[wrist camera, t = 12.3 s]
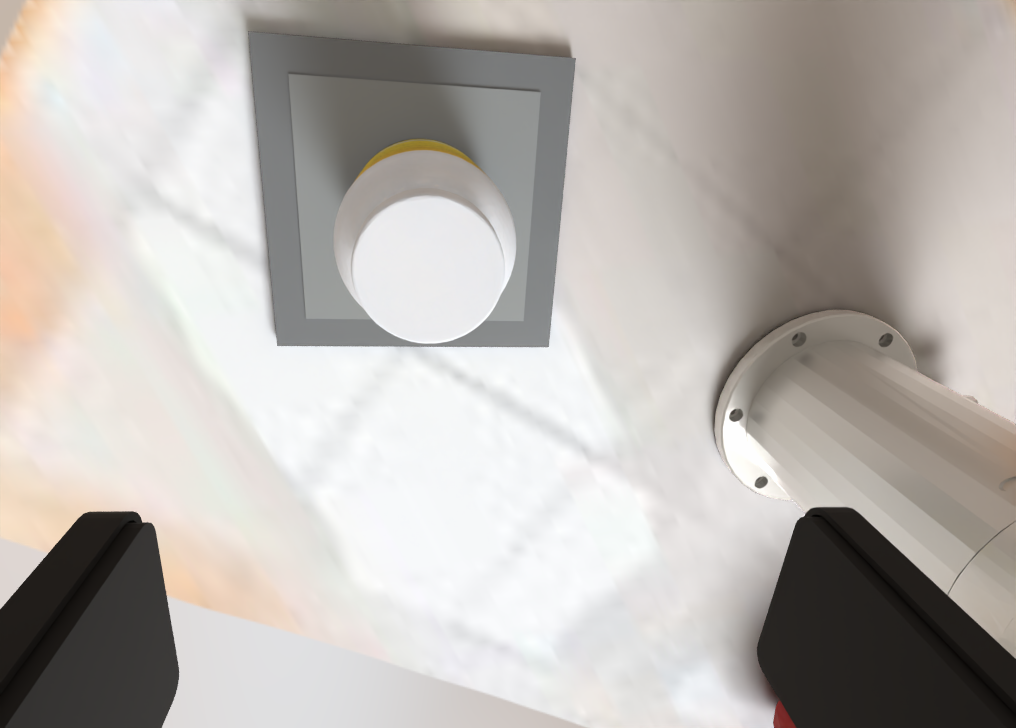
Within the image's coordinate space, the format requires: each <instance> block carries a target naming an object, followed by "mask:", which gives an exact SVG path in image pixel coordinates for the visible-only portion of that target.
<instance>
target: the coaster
mask: <svg viewBox="0 0 1016 728" xmlns="http://www.w3.org/2000/svg"><path fill="white" fill-rule="evenodd" d="M248 35H249V46H250V56H251V67H252V78H253V89H254V99H255V110H256V121H257V132H258V143H259V153H260V164H261V175H262V186H263V196H264V207H265V218H266V229H267V240H268V250H269V261H270V272H271V283H272V293H273V304H274V315H275V326H276V337H277V346H407V347H549V337H550V327H551V316H552V305H553V295H554V284H555V273H556V263H557V252H558V241H559V231H560V220H561V209H562V199H563V188H564V177H565V167H566V156H567V145H568V135H569V124H570V113H571V103H572V92H573V81H574V71H575V60H576V58H568V57H555V56H543V55H531V54H519V53H507V52H494V51H482V50H470V49H458V48H445V47H433V46H421V45H409V44H396V43H384V42H372V41H360V40H347V39H335V38H323V37H311V36H299V35H286V34H274V33H262V32H250V31H248ZM416 138H424V139H432V140H437V141H441V142H444V143H446V144H449V145H451V146H453V147H455V148H457V149H458V150H460V151H461V152H463V153H464V154H465V155H467V156H468V157H469V158H470V159H471V160H472V161H473V162H474V163H475V164H476V165H477V166H478V167H479V168H480V169H481V170H482V171H483V172H484V173H485V174H486V175H487V176H488V177H489V178H490V179H491V180H492V181H493V183H494V184H495V185H496V186H497V188H498V189H499V191H500V192H501V194H502V195H503V197H504V199H505V201H506V203H507V205H508V207H509V209H510V212H511V215H512V218H513V222H514V226H515V232H516V256H515V262H514V266H513V270H512V273H511V276H510V278H509V281H508V283H507V285H506V287H505V289H504V290H503V292H502V294H501V295H500V297H499V300H498V302H497V304H496V306H495V307H494V309H493V310H492V312H491V313H490V315H489V316H488V317H487V318H486V319H485V320H484V321H483V322H482V323H481V324H480V325H479V326H478V327H477V328H475V329H474V330H472V331H471V332H469V333H468V334H466V335H464V336H462V337H459V338H457V339H454V340H451V341H448V342H442V343H429V344H425V343H416V342H411V341H407V340H404V339H401V338H399V337H397V336H394V335H393V334H391V333H389V332H387V331H386V330H384V329H383V328H381V327H380V326H379V325H378V324H376V323H375V322H374V321H373V320H372V319H371V318H370V316H369V315H368V314H367V313H366V311H365V310H364V309H363V308H362V307H361V306H360V305H359V304H358V302H357V301H356V300H355V299H354V298H353V296H352V295H351V294H350V292H349V291H348V289H347V287H346V286H345V284H344V282H343V280H342V278H341V275H340V273H339V270H338V267H337V263H336V259H335V253H334V241H333V238H334V227H335V221H336V217H337V213H338V210H339V207H340V205H341V203H342V200H343V198H344V196H345V194H346V192H347V190H348V189H349V188H350V186H351V185H352V183H353V182H354V181H355V179H356V178H357V176H358V175H359V174H360V172H361V171H362V169H363V168H364V167H365V165H366V164H367V163H368V162H369V161H370V160H371V159H372V157H374V156H375V155H376V154H377V153H378V152H380V151H381V150H383V149H384V148H386V147H388V146H389V145H391V144H394V143H396V142H399V141H403V140H408V139H416Z"/></svg>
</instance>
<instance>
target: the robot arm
mask: <svg viewBox="0 0 1016 728" xmlns="http://www.w3.org/2000/svg"><path fill="white" fill-rule="evenodd" d="M714 431H715V437H716V444H717V448H718V450H719V453H720V455H721V458H722V460H723V462H724V463H725V464H726V466H727V467H728V469H729V470H730V471H731V473H732V474H733V475H734V476H735V477H736V478H737V479H738V480H739V481H740V482H741V483H742V484H743V485H744V486H746V487H747V488H749V489H750V490H751V491H753V492H755V493H758V494H760V495H763V496H766V497H769V498H773V499H780V500H793V501H794V502H795V503H796V504H797V505H798V506H799V507H800V508H801V509H802V510H803V511H804V513H805V516H804V517H801V518H800V519H799V520H798V521H797V523H796V525H795V528H794V531H793V534H792V537H791V540H790V544H789V547H788V550H787V553H786V556H785V560H784V563H783V566H782V569H781V572H780V575H779V579H778V582H777V585H776V588H775V591H774V594H773V598H772V601H771V604H770V607H769V610H768V613H767V617H766V620H765V623H764V626H763V629H762V632H761V636H760V639H759V642H758V647H757V655H758V661H759V664H760V667H761V669H762V671H763V673H764V675H765V676H766V678H767V680H768V681H769V683H770V685H771V686H772V688H773V690H774V691H775V693H776V695H777V696H778V698H779V700H780V701H781V703H782V705H783V706H784V708H785V710H786V711H787V713H788V715H789V716H790V718H791V720H792V721H793V723H794V725H795V726H796V728H1016V424H1015V423H1013V422H1011V421H1010V420H1008V419H1006V418H1004V417H1002V416H1000V415H998V414H996V413H994V412H993V411H991V410H989V409H987V408H985V407H983V406H981V405H979V404H978V402H977V400H976V399H975V398H974V397H973V396H968V395H960V394H959V393H957V392H955V391H953V390H951V389H949V388H947V387H945V386H944V385H942V384H940V383H938V382H936V381H934V380H932V379H930V378H928V377H927V376H925V375H923V374H921V373H919V372H918V370H917V366H916V361H915V357H914V355H913V353H912V350H911V348H910V346H909V344H908V343H907V341H906V340H905V339H904V338H903V337H902V336H901V334H900V333H899V332H898V331H897V330H895V329H894V328H892V327H891V326H890V325H888V324H887V323H885V322H883V321H881V320H879V319H877V318H874V317H872V316H870V315H868V314H865V313H860V312H856V311H852V310H826V311H820V312H815V313H810V314H807V315H805V316H802V317H799V318H796V319H794V320H791V321H789V322H787V323H786V324H784V325H782V326H780V327H779V328H777V329H775V330H773V331H772V332H770V333H769V334H768V335H767V336H765V337H764V338H763V339H761V340H760V341H759V342H758V343H756V344H755V345H754V346H753V347H752V348H751V349H750V350H749V351H748V353H747V354H746V355H745V356H744V357H743V358H742V359H741V360H740V361H739V363H738V364H737V366H736V367H735V369H734V370H733V372H732V373H731V375H730V376H729V378H728V380H727V382H726V384H725V386H724V388H723V390H722V393H721V395H720V398H719V402H718V406H717V409H716V414H715V429H714ZM178 680H179V667H178V661H177V655H176V649H175V643H174V637H173V631H172V626H171V620H170V614H169V608H168V602H167V596H166V590H165V584H164V578H163V572H162V566H161V560H160V554H159V548H158V543H157V537H156V531H155V528H154V526H153V524H152V523H142V520H141V517H140V516H139V514H138V513H136V512H87V513H84V514H83V515H82V516H81V517H80V518H78V520H77V521H76V522H75V523H74V524H73V525H72V527H71V528H70V529H69V530H68V531H67V532H66V534H65V535H64V536H63V537H62V538H61V539H60V541H59V542H58V543H57V544H56V545H55V546H54V548H53V549H52V550H51V551H50V552H49V553H48V555H47V556H46V557H45V558H44V559H43V561H42V562H41V563H40V564H39V565H38V566H37V567H36V569H35V570H34V571H33V572H32V573H31V574H30V576H29V577H28V578H27V579H26V580H25V581H24V582H23V584H22V585H21V586H20V587H19V588H18V590H17V591H16V592H15V593H14V594H13V595H12V596H11V598H10V599H9V600H8V601H7V602H6V604H5V605H4V606H3V607H2V608H1V609H0V728H162V725H163V723H164V721H165V718H166V716H167V714H168V711H169V709H170V707H171V705H172V702H173V700H174V697H175V694H176V690H177V686H178Z"/></svg>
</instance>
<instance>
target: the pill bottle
mask: <svg viewBox="0 0 1016 728" xmlns="http://www.w3.org/2000/svg"><path fill="white" fill-rule="evenodd" d="M333 241H334V253H335V259H336V263H337V267H338V270H339V273H340V275H341V278H342V280H343V282H344V284H345V286H346V287H347V289H348V291H349V292H350V294H351V295H352V296H353V298H354V299H355V300H356V301H357V302H358V304H359V305H360V306H361V307H362V308H363V309H364V310H365V311H366V313H367V314H368V315H369V316H370V318H371V319H372V320H373V321H374V322H375V323H376V324H378V325H379V326H380V327H381V328H383V329H384V330H386V331H387V332H389V333H391V334H393V335H394V336H397V337H399V338H401V339H404V340H407V341H411V342H416V343H425V344H429V343H442V342H448V341H451V340H454V339H457V338H459V337H462V336H464V335H466V334H468V333H469V332H471V331H472V330H474V329H475V328H477V327H478V326H479V325H480V324H481V323H482V322H483V321H484V320H485V319H486V318H487V317H488V316H489V315H490V313H491V312H492V310H493V309H494V307H495V306H496V304H497V302H498V300H499V297H500V295H501V294H502V292H503V290H504V289H505V287H506V285H507V283H508V281H509V278H510V276H511V273H512V270H513V266H514V262H515V256H516V232H515V226H514V222H513V218H512V215H511V212H510V209H509V207H508V205H507V203H506V201H505V199H504V197H503V195H502V194H501V192H500V191H499V189H498V188H497V186H496V185H495V184H494V183H493V181H492V180H491V179H490V178H489V177H488V176H487V175H486V174H485V173H484V172H483V171H482V170H481V169H480V168H479V167H478V166H477V165H476V164H475V163H474V162H473V161H472V160H471V159H470V158H469V157H468V156H467V155H465V154H464V153H463V152H461V151H460V150H458V149H457V148H455V147H453V146H451V145H449V144H446V143H444V142H441V141H437V140H432V139H424V138H416V139H408V140H403V141H399V142H396V143H394V144H391V145H389V146H388V147H386V148H384V149H383V150H381V151H380V152H378V153H377V154H376V155H375V156H374V157H372V159H371V160H370V161H369V162H368V163H367V164H366V165H365V167H364V168H363V169H362V171H361V172H360V174H359V175H358V176H357V178H356V179H355V181H354V182H353V183H352V185H351V186H350V188H349V189H348V190H347V192H346V194H345V196H344V198H343V200H342V203H341V205H340V207H339V210H338V213H337V217H336V221H335V227H334V238H333Z"/></svg>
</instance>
